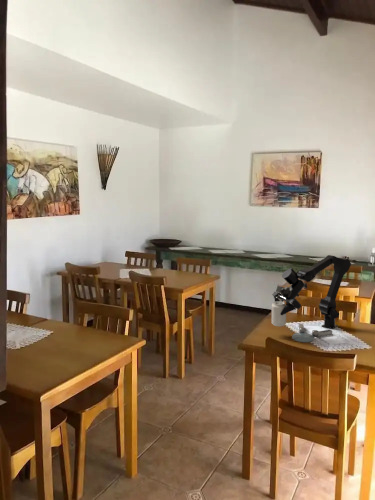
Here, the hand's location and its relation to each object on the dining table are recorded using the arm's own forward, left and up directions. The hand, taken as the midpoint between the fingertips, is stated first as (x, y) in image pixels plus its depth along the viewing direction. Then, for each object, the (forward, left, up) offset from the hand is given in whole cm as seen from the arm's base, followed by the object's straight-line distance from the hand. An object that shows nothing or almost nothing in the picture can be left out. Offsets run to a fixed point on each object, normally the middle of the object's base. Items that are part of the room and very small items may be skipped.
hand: (276, 312), depth 213 cm
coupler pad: (-5, +13, -13) cm, 18 cm away
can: (-1, +1, -7) cm, 7 cm away
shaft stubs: (-15, +13, -13) cm, 23 cm away
